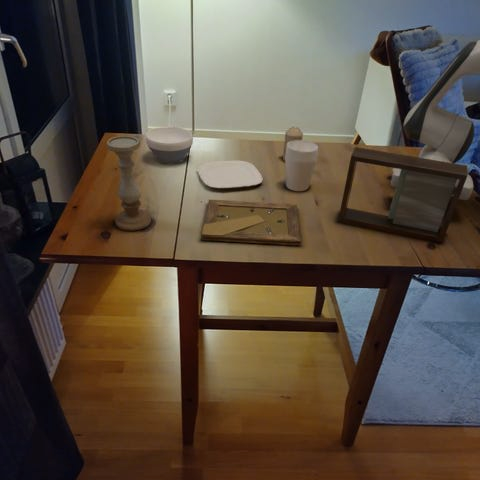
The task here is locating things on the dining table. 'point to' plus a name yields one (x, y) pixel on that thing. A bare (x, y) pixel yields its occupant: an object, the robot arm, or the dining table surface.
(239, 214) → the picture frame
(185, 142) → the bowl
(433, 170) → the frame
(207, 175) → the plate
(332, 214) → the dining table surface
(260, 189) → the dining table surface
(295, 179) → the cup
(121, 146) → the candle holder
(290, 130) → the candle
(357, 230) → the dining table surface
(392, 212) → the door
